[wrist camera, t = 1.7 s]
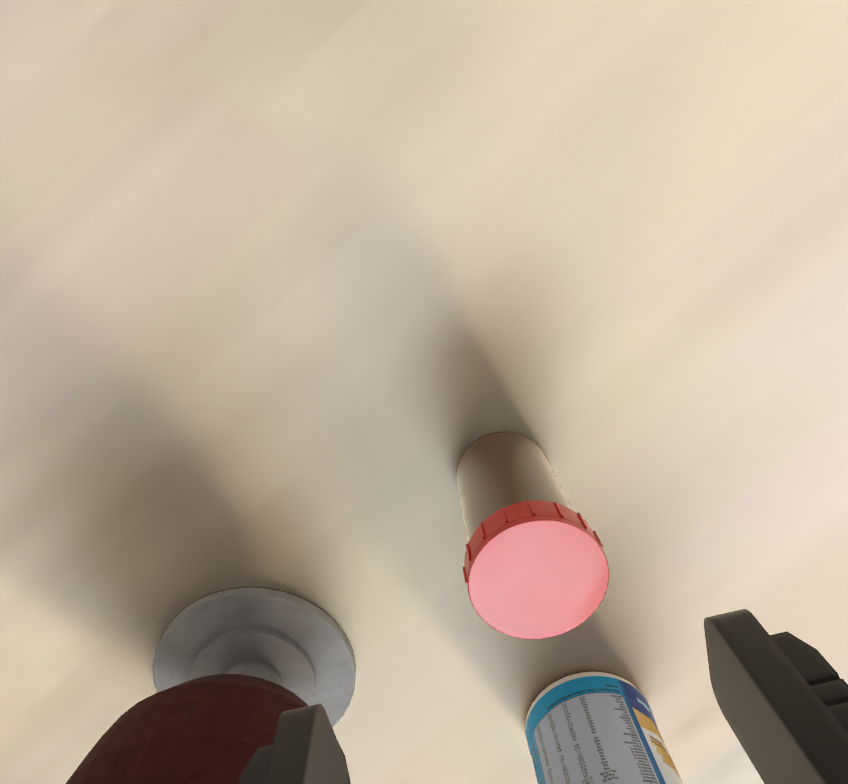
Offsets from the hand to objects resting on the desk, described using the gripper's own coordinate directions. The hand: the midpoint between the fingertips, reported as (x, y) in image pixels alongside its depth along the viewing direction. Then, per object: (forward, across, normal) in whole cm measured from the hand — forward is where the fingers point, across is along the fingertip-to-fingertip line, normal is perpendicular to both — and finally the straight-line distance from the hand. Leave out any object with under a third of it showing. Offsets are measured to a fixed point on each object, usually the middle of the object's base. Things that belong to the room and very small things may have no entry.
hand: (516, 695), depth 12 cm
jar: (+22, -2, +7) cm, 23 cm away
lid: (+12, -2, +7) cm, 14 cm away
